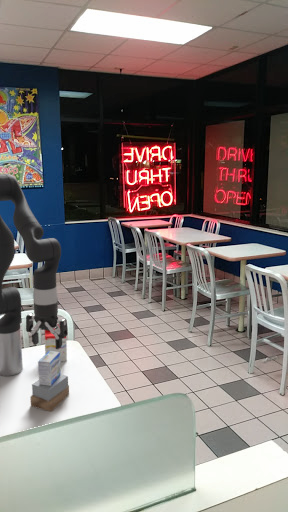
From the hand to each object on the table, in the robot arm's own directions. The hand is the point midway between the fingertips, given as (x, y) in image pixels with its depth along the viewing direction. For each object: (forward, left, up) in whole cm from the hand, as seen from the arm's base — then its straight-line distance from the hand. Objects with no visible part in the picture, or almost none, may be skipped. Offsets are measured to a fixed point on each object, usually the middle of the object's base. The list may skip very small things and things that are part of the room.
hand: (47, 346), depth 131 cm
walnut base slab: (0, 0, -21) cm, 21 cm away
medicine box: (0, 0, -13) cm, 13 cm away
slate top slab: (+1, 0, -17) cm, 17 cm away
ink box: (-13, +26, -20) cm, 35 cm away
